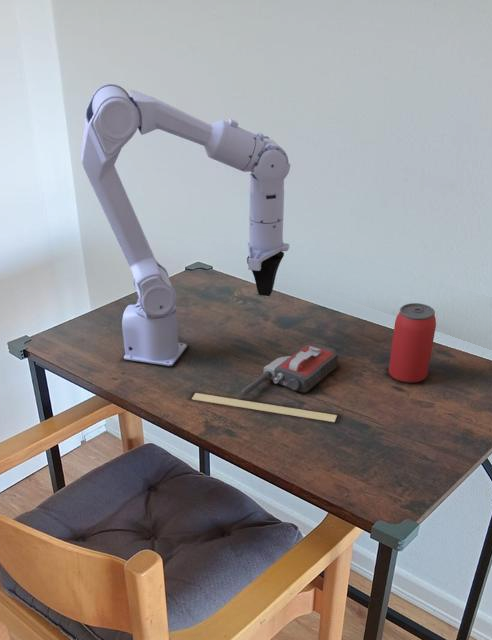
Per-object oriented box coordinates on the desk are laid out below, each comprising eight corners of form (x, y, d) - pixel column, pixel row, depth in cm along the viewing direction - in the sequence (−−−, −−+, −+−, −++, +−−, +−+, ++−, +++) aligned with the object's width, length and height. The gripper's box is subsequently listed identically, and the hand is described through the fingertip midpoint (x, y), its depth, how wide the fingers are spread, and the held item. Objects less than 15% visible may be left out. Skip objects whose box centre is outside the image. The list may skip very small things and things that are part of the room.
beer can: (430, 369, 130) (442, 305, 123) (422, 388, 126) (433, 322, 118) (393, 362, 133) (402, 299, 125) (383, 380, 128) (392, 315, 121)
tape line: (191, 399, 125) (191, 398, 125) (195, 393, 126) (195, 392, 126) (334, 422, 118) (334, 421, 118) (337, 415, 120) (337, 415, 120)
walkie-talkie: (300, 350, 137) (236, 398, 124) (301, 328, 134) (236, 375, 122) (342, 364, 133) (281, 415, 120) (344, 341, 130) (282, 391, 117)
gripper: (278, 235, 119) (276, 313, 128) (299, 205, 130) (296, 280, 139) (235, 231, 121) (236, 309, 130) (260, 202, 132) (259, 276, 140)
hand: (264, 294), depth 134 cm, fingers closed
